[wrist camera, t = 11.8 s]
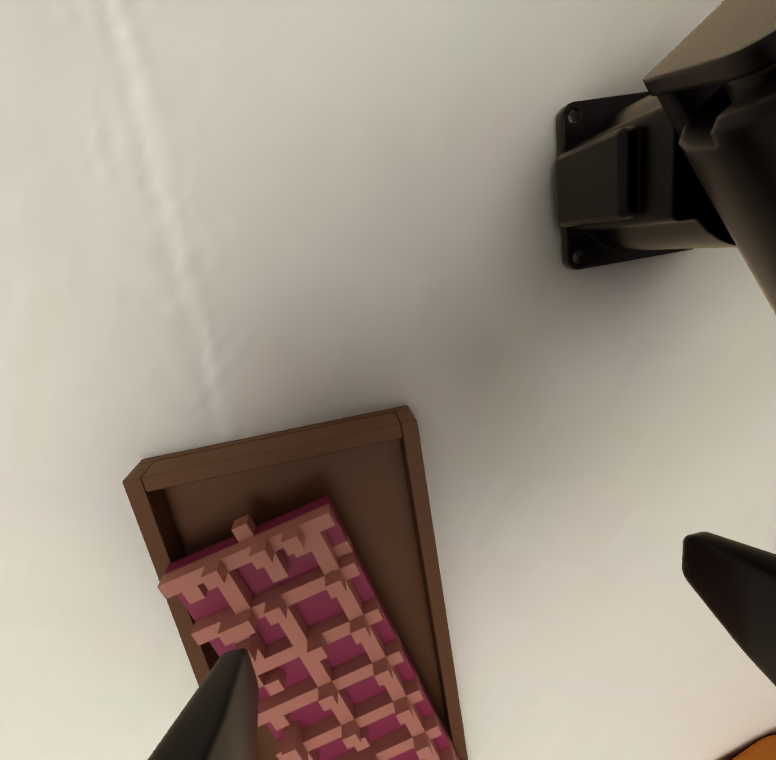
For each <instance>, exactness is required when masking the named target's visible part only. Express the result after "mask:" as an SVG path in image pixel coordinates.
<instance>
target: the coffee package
mask: <svg viewBox="0 0 776 760" xmlns="http://www.w3.org/2000/svg"><path fill="white" fill-rule="evenodd" d="M732 760H776V735H770V736H767V737H765V738H763V739H761V740H759V741H758V742H756V743H754V744H753V745H751V746H750V747H749V748H747V749H746V750H744V751H743V752H741V753H740V754H738V755H737V756H736V757H734V758H733V759H732Z"/></svg>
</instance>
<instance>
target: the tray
mask: <svg viewBox="0 0 776 760" xmlns="http://www.w3.org/2000/svg"><path fill="white" fill-rule="evenodd" d="M123 485H124V487H125V490H126V493H127V495H128V498H129V501H130V503H131V506H132V509H133V511H134V514H135V517H136V519H137V522H138V525H139V527H140V530H141V533H142V535H143V538H144V541H145V543H146V546H147V549H148V551H149V554H150V557H151V559H152V562H153V565H154V567H155V570H156V573H157V575H158V578H159V581H161V579H162V577H163V575H164V572H165V570H166V568H167V566H168V564H171V563H173V562H175V561H178V560H180V559H182V558H184V557H187V556H189V555H191V554H194V553H196V552H198V551H201V550H203V549H205V548H208V547H210V546H212V545H215V544H217V543H219V542H221V541H224V540H226V539H228V538H231V537H233V536H235V535H234V534H233V532H232V530H231V529H232V526H233V523H234V520H237V519H239V518H241V517H244V516H246V515H248V514H249V515H250V517H251V519H252V520H253V522H254V524H255V525H256V526H258V525H261V524H263V523H265V522H268V521H270V520H272V519H275V518H277V517H279V516H282V515H284V514H286V513H289V512H291V511H293V510H295V509H298V508H300V507H302V506H305V505H307V504H309V503H312V502H314V501H316V500H319V499H321V498H323V497H326V496H329V498H330V500H331V502H332V504H333V506H334V508H335V510H336V512H337V514H338V516H339V518H340V520H341V522H342V524H343V526H344V528H345V530H346V532H347V534H348V536H349V538H350V540H351V542H352V544H353V546H354V548H355V550H356V552H357V554H358V556H359V558H360V560H361V562H362V564H363V566H364V568H365V570H366V572H367V574H368V576H369V578H370V580H371V582H372V584H373V586H374V588H375V590H376V592H377V594H378V596H379V598H380V600H381V602H382V604H383V606H384V608H385V610H386V612H387V614H388V616H389V618H390V620H391V622H392V624H393V626H394V628H395V630H396V632H397V634H398V636H399V638H400V640H401V642H402V644H403V646H404V648H405V650H406V652H407V654H408V656H409V658H410V660H411V661H412V663H413V665H414V667H415V669H416V671H417V673H418V675H419V677H420V679H421V681H422V683H423V685H424V687H425V689H426V691H427V693H428V695H429V697H430V699H431V701H432V703H433V705H434V707H435V709H436V711H437V713H438V715H439V717H440V719H441V721H442V723H443V725H444V727H445V729H446V731H447V733H448V735H449V737H450V739H451V741H452V743H453V745H454V747H455V749H456V751H457V753H458V755H459V757H460V759H461V760H468V757H467V750H466V744H465V737H464V730H463V724H462V717H461V710H460V704H459V697H458V690H457V684H456V677H455V670H454V664H453V657H452V650H451V644H450V637H449V630H448V624H447V617H446V610H445V604H444V597H443V591H442V584H441V577H440V571H439V564H438V557H437V551H436V544H435V537H434V531H433V524H432V517H431V511H430V504H429V497H428V491H427V484H426V477H425V471H424V464H423V457H422V451H421V444H420V438H419V431H418V424H417V420H416V418H415V417H414V415H413V413H412V412H411V410H410V409H409V407H408V406H402V407H398V408H393V409H388V410H383V411H378V412H373V413H368V414H363V415H358V416H354V417H349V418H344V419H339V420H334V421H329V422H324V423H319V424H314V425H310V426H305V427H300V428H295V429H290V430H285V431H280V432H275V433H270V434H266V435H261V436H256V437H251V438H246V439H241V440H236V441H231V442H226V443H222V444H217V445H212V446H207V447H202V448H197V449H192V450H187V451H182V452H178V453H173V454H168V455H163V456H158V457H153V458H148V459H143V460H141V461H140V463H139V464H138V465H137V466H136V467H135V468H134V469H133V470H132V471H131V473H130V474H129V475H128V476H127V477H126V478H125V479H124V480H123ZM167 602H168V605H169V607H170V610H171V613H172V615H173V618H174V621H175V623H176V626H177V629H178V631H179V634H180V637H181V639H182V642H183V645H184V647H185V650H186V653H187V655H188V658H189V661H190V663H191V666H192V669H193V671H194V674H195V677H196V679H197V682H198V685H199V686H200V685H201V684H202V682H203V681H204V679H205V678H206V676H207V675H208V674H209V672H210V671H211V669H212V668H213V667H214V665H215V664H216V662H217V661H218V659H219V658H220V657H219V655H218V654H217V652H216V651H215V650H214V648H213V647H212V645H211V644H210V642H209V641H208V642H206V643H204V644H202V645H198V644H197V642H196V641H195V640H194V638H193V637H192V635H191V633H192V630H193V627H194V624H195V621H194V619H193V618H192V616H191V615H190V613H189V612H188V610H187V609H186V608H185V606H184V605H183V603H182V602H181V600H180V599H179V597H178V596H177V595H174V596H172V597H170V598H167ZM276 747H277V739H276V738H275V736H274V735H273V733H272V732H271V731H270V729H269V728H268V726H267V725H266V724H263V725H261V726H259V727H258V730H257V757H256V760H279V759H278V757H277V756H276Z"/></svg>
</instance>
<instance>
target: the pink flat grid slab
mask: <svg viewBox="0 0 776 760" xmlns="http://www.w3.org/2000/svg"><path fill="white" fill-rule="evenodd" d="M231 530H232V532H233V534H234V535H235V536H233V537H231V538H228V539H226V540H224V541H221V542H219V543H217V544H215V545H212V546H210V547H208V548H205V549H203V550H201V551H198V552H196V553H194V554H191V555H189V556H187V557H184V558H182V559H180V560H178V561H175V562H173V563H171V564H168V566H167V568H166V570H165V572H164V575H163V577H162V579H161V581H160V583H159V585H158V588H159V590H160V591H161V593H162V594H163V595H164V597H165V598H166V599H167V598H170V597H172V596H174V595H177V596H178V597H179V599H180V600H181V602H182V603H183V605H184V606H185V608H186V609H187V610H188V612H189V613H190V615H191V616H192V618H193V619H194V621H195V624H194V627H193V630H192V633H191V635H192V637H193V638H194V640H195V641H196V642H197V644H198V645H202V644H204V643H206V642H208V641H209V642H210V644H211V645H212V647H213V648H214V650H215V651H216V652H217V654H218V655H219V657H221V656H222V655H223V654H224V653H225V652H228V651H232V650H236V649H240V648H245V649H247V651H248V652H249V655H250V658H251V661H252V665H253V668H254V671H255V674H256V677H257V680H258V687H259V704H258V727H259V726H261V725H263V724H266V725H267V726H268V728H269V729H270V731H271V732H272V733H273V735H274V736H275V738H276V739H277V747H276V756H277V757H278V759H279V760H461V759H460V757H459V755H458V753H457V751H456V749H455V747H454V745H453V743H452V741H451V739H450V737H449V735H448V733H447V731H446V729H445V727H444V725H443V723H442V721H441V719H440V717H439V715H438V713H437V711H436V709H435V707H434V705H433V703H432V701H431V699H430V697H429V695H428V693H427V691H426V689H425V687H424V685H423V683H422V681H421V679H420V677H419V675H418V673H417V671H416V669H415V667H414V665H413V663H412V661H411V660H410V658H409V656H408V654H407V652H406V650H405V648H404V646H403V644H402V642H401V640H400V638H399V636H398V634H397V632H396V630H395V628H394V626H393V624H392V622H391V620H390V618H389V616H388V614H387V612H386V610H385V608H384V606H383V604H382V602H381V600H380V598H379V596H378V594H377V592H376V590H375V588H374V586H373V584H372V582H371V580H370V578H369V576H368V574H367V572H366V570H365V568H364V566H363V564H362V562H361V560H360V558H359V556H358V554H357V552H356V550H355V548H354V546H353V544H352V542H351V540H350V538H349V536H348V534H347V532H346V530H345V528H344V526H343V524H342V522H341V520H340V518H339V516H338V514H337V512H336V510H335V508H334V506H333V504H332V502H331V500H330V498H329V496H326V497H323V498H321V499H319V500H316V501H314V502H312V503H309V504H307V505H305V506H302V507H300V508H298V509H295V510H293V511H291V512H289V513H286V514H284V515H282V516H279V517H277V518H275V519H272V520H270V521H268V522H265V523H263V524H261V525H258V526H256V525H255V524H254V522H253V520H252V519H251V517H250V515H249V514H248V515H246V516H244V517H241V518H239V519H237V520H234V523H233V526H232V529H231Z"/></svg>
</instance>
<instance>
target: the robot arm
mask: <svg viewBox="0 0 776 760" xmlns="http://www.w3.org/2000/svg"><path fill="white" fill-rule="evenodd" d="M642 81H643V82H644V84H645V86H646V88H647V89H648V91H649V92H643V93H635V94H628V95H621V96H613V97H606V98H599V99H591V100H584V101H577V102H572V103H569V104H568V105H566V106H565V107H563V108H562V109H561V110H560V112H559V114H558V117H557V131H558V155H559V158H558V159H557V161H556V180H557V202H558V222H559V223H560V225H561V226H562V249H563V262H564V265H565V266H566V267H567V268H569V269H584V268H590V267H596V266H601V265H607V264H612V263H618V262H624V261H629V260H635V259H640V258H646V257H651V256H657V255H663V254H668V253H674V252H679V251H685V250H691V249H694V248H721V247H738V249H739V251H740V253H741V254H742V256H743V258H744V260H745V261H746V263H747V265H748V267H749V268H750V270H751V272H752V274H753V275H754V277H755V279H756V281H757V282H758V284H759V286H760V288H761V289H762V291H763V293H764V295H765V296H766V298H767V300H768V302H769V303H770V305H771V307H772V309H773V310H774V312H775V314H776V0H725V1H724V2H723V3H722V4H721V5H720V6H719V7H717V8H716V9H715V10H714V11H713V12H712V13H711V14H710V15H709V16H708V17H707V18H706V19H705V20H704V21H703V22H702V23H701V24H700V25H699V26H698V27H697V28H696V29H695V30H693V31H692V32H691V33H690V34H689V35H688V36H687V37H686V38H685V39H684V40H683V41H682V42H681V43H680V44H679V45H678V46H677V47H676V48H675V49H674V50H673V51H672V52H671V53H670V54H668V55H667V56H666V57H665V58H664V59H663V60H662V61H661V62H660V63H659V64H658V65H657V66H656V67H655V68H654V69H653V70H652V71H651V72H650V73H649V74H648V75H647V76H646V77H645V78H644V79H643V80H642ZM569 112H571V113H572V114H573V115H574V122H573V123H571V122H570V121H569V119H568V114H569ZM576 252H577V253H578V255H579V259H578V261H577V262H576V263H575V262H574V260H573V256H574V254H575V253H576ZM682 570H683V574H684V576H685V578H686V580H687V581H688V583H689V584H690V585H691V586H692V588H693V589H694V590H695V591H696V593H697V594H698V595H699V596H700V598H701V599H702V600H703V601H704V603H705V604H706V605H707V606H708V608H709V609H710V610H711V611H712V613H713V614H714V615H715V616H716V618H717V619H718V620H719V621H720V623H721V624H722V625H723V626H724V628H725V629H726V630H727V631H728V633H729V634H730V635H731V636H732V638H733V639H734V640H735V641H736V643H737V644H738V645H739V646H740V647H741V649H742V650H743V651H744V652H745V653H746V654H747V656H748V657H749V658H750V659H751V660H752V661H753V662H754V663H755V664H756V666H757V667H758V668H759V669H760V670H761V671H762V672H763V673H764V674H765V675H766V676H767V677H768V678H769V679H770V681H771V682H772V683H773V684H774V685H775V686H776V554H773V553H770V552H767V551H764V550H761V549H758V548H755V547H752V546H749V545H746V544H742V543H739V542H736V541H733V540H730V539H727V538H724V537H721V536H718V535H715V534H712V533H709V532H699V533H695V534H691V535H687V536H686V537H685V538H684V540H683V554H682ZM258 704H259V687H258V680H257V677H256V674H255V671H254V668H253V665H252V661H251V658H250V655H249V652H248V651H247V649H245V648H240V649H236V650H232V651H228V652H225V653H224V654H223V655H222V656H221V657H220V658H219V659H218V661H217V662H216V664H215V665H214V667H213V668H212V669H211V671H210V672H209V674H208V675H207V676H206V678H205V679H204V681H203V682H202V684H201V685H200V686H199V688H198V689H197V691H196V692H195V693H194V695H193V696H192V698H191V699H190V701H189V702H188V703H187V705H186V706H185V708H184V709H183V710H182V712H181V713H180V715H179V716H178V718H177V719H176V720H175V722H174V723H173V725H172V726H171V727H170V729H169V730H168V732H167V733H166V735H165V736H164V737H163V739H162V740H161V742H160V743H159V744H158V746H157V747H156V749H155V750H154V751H153V753H152V754H151V756H150V757H149V759H148V760H256V757H257V730H258Z"/></svg>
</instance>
